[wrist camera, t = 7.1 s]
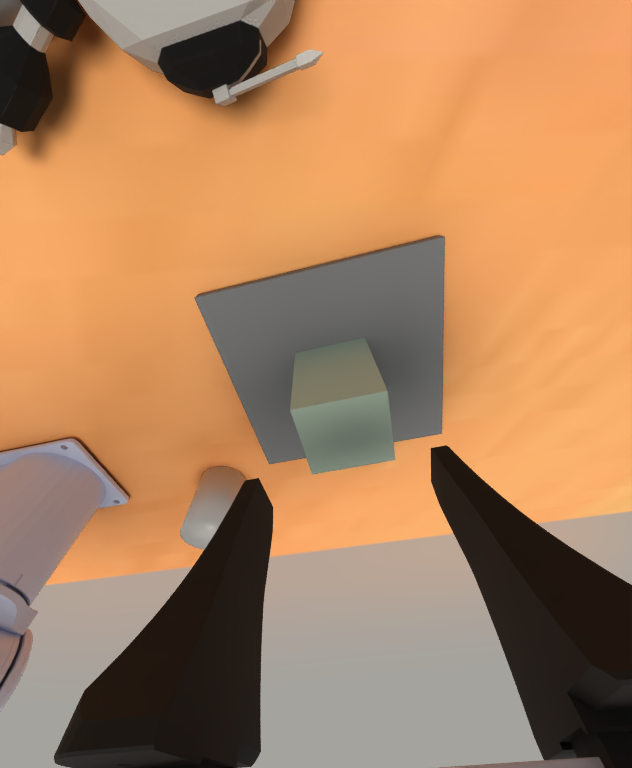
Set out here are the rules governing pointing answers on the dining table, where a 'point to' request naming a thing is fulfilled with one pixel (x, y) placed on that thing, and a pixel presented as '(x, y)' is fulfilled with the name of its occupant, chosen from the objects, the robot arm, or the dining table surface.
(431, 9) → the dining table surface
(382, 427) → the block
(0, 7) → the robot toy
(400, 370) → the mat
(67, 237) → the dining table surface
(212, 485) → the grey cylinder
